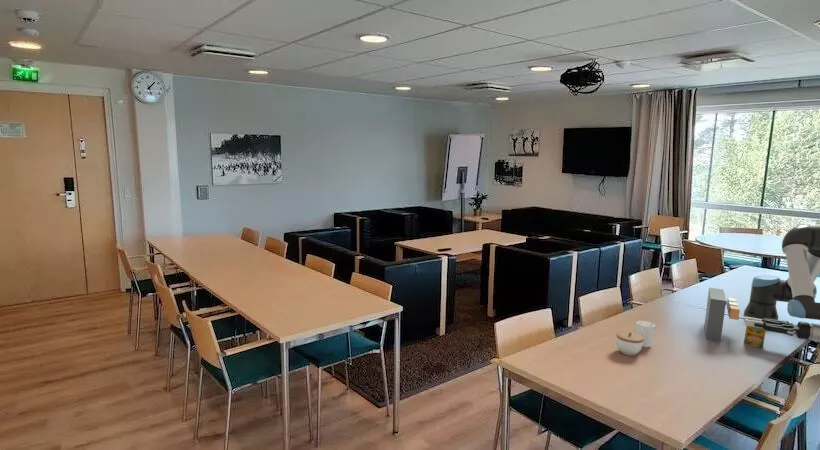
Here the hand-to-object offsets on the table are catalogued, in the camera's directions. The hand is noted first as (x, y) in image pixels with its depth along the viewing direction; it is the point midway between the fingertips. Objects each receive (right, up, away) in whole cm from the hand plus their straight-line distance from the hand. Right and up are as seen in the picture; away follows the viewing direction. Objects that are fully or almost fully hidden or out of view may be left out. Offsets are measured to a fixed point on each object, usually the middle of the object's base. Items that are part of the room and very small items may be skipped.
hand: (745, 320), depth 221 cm
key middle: (0, +2, +9) cm, 9 cm away
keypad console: (-6, -9, +14) cm, 18 cm away
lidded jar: (-60, -12, -13) cm, 63 cm away
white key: (+4, +3, +15) cm, 16 cm away
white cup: (-49, -10, -3) cm, 50 cm away
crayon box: (+4, -11, 0) cm, 12 cm away
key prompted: (-4, +1, +2) cm, 5 cm away
